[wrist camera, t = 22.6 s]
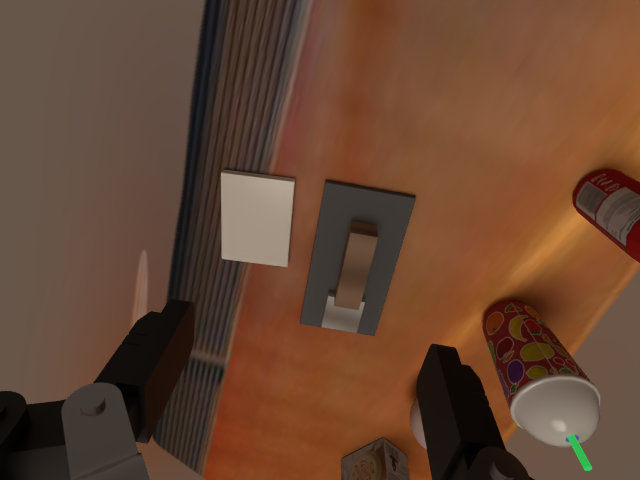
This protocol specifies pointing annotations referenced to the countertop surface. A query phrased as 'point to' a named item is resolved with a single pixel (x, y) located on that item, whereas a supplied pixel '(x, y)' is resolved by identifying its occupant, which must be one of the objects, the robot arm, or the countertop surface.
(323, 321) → the tan two-tone long part
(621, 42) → the countertop surface
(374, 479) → the coffee box
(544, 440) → the smoothie
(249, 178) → the tile
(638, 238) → the soda can
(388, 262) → the mat
